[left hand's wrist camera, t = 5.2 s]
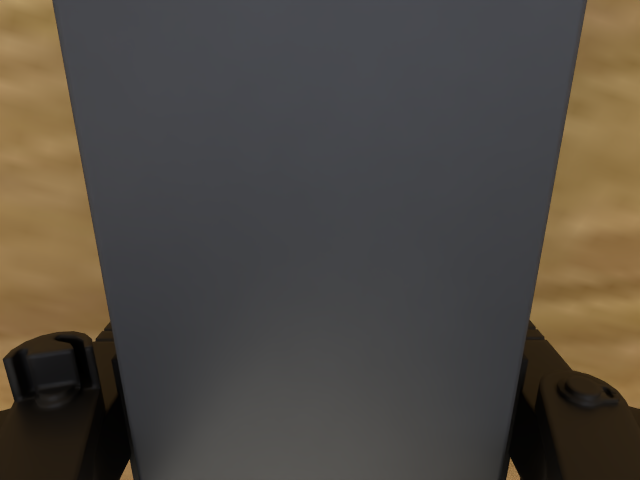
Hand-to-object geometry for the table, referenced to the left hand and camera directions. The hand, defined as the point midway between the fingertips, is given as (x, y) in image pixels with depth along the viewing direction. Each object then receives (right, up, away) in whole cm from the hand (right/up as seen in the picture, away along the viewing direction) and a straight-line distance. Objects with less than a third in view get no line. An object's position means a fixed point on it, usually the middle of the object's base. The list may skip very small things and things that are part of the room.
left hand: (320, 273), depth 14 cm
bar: (0, +25, -8) cm, 26 cm away
